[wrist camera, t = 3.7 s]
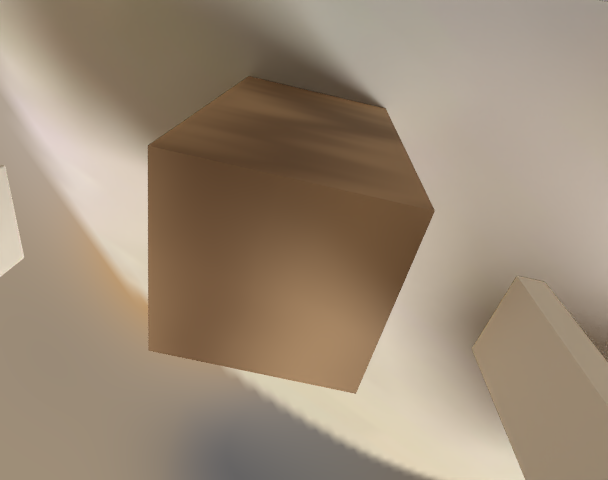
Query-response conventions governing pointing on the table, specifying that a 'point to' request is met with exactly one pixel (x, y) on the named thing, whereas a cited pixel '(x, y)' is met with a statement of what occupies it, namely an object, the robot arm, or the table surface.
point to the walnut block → (280, 233)
